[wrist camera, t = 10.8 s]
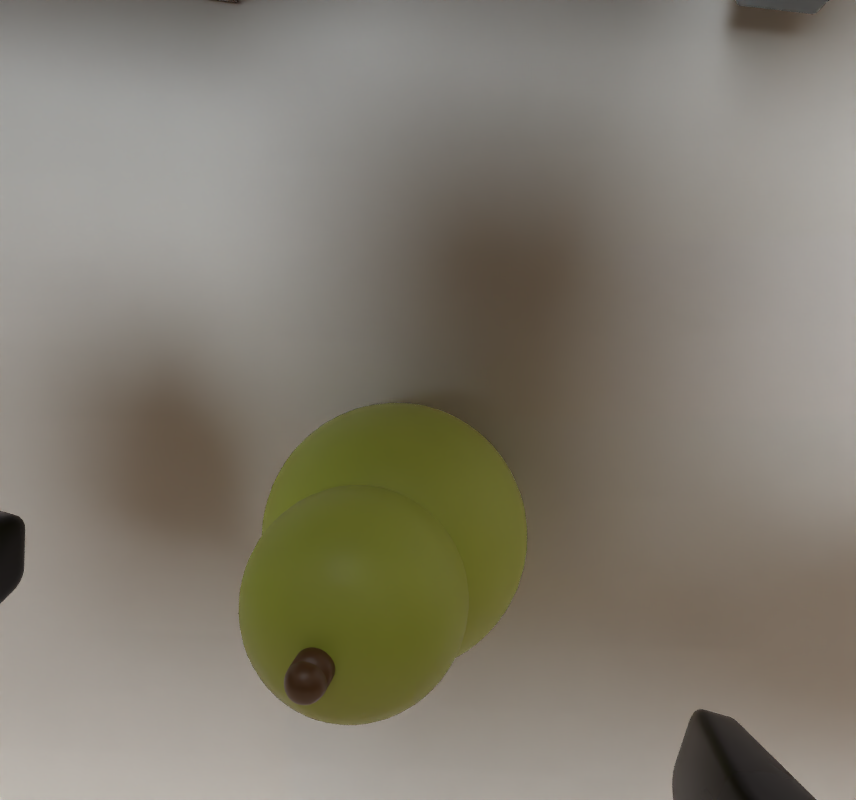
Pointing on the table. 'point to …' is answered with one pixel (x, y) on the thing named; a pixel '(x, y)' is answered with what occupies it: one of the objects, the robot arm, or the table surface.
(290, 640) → the pear
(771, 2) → the drawer
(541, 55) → the table surface
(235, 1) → the cabinet
